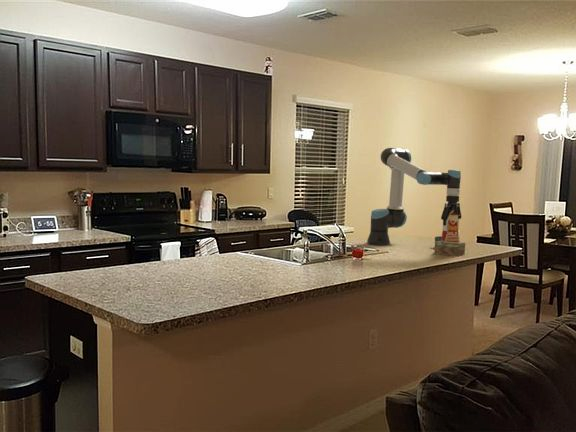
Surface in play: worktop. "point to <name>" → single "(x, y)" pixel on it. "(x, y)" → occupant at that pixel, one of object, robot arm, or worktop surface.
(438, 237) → the mortar and pestle
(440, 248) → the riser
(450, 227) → the milk carton
